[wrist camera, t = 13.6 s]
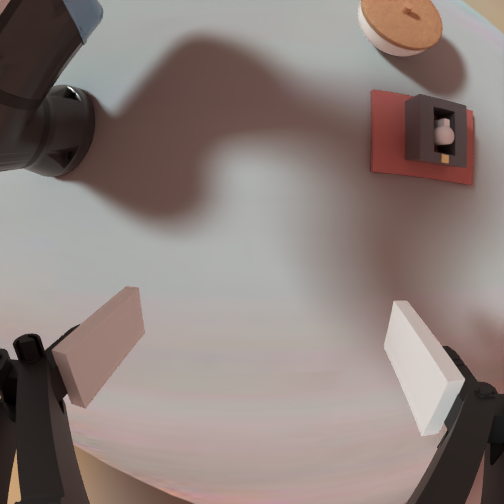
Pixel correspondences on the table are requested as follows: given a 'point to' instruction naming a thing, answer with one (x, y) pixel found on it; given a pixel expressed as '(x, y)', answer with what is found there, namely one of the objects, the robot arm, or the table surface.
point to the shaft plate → (393, 141)
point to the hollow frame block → (422, 131)
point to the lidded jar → (400, 25)
